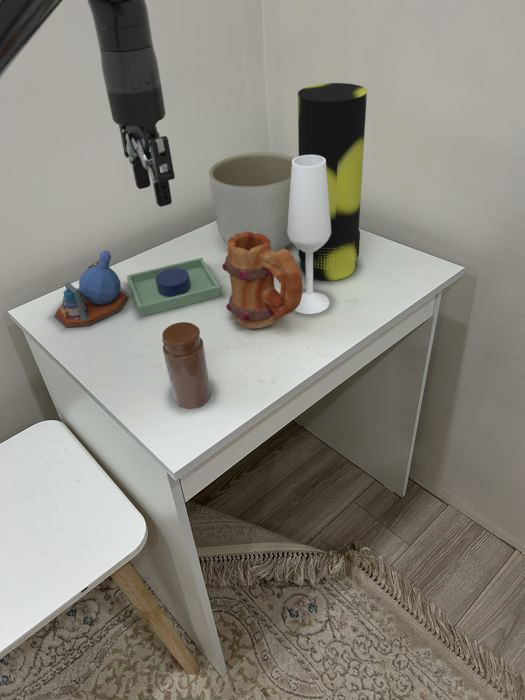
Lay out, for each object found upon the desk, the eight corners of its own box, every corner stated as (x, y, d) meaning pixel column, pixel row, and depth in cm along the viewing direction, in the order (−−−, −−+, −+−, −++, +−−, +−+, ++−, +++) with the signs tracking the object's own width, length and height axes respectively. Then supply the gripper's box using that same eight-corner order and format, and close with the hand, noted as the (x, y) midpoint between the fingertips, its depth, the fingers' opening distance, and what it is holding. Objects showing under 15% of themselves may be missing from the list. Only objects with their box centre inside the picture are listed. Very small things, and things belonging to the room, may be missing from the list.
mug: (218, 318, 90) (207, 235, 80) (255, 298, 94) (249, 216, 84) (278, 358, 81) (274, 270, 71) (317, 334, 85) (317, 248, 75)
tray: (140, 317, 91) (138, 307, 90) (128, 284, 99) (126, 275, 98) (221, 296, 95) (220, 286, 93) (203, 266, 103) (201, 257, 102)
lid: (186, 276, 99) (184, 265, 98) (194, 292, 95) (193, 280, 94) (154, 284, 98) (152, 273, 97) (161, 300, 94) (159, 289, 92)
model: (109, 284, 100) (97, 238, 94) (136, 303, 94) (124, 256, 88) (48, 311, 94) (31, 264, 88) (73, 334, 88) (56, 286, 82)
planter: (269, 216, 118) (265, 145, 108) (321, 245, 107) (321, 168, 97) (202, 242, 110) (191, 168, 101) (250, 275, 99) (243, 196, 90)
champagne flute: (281, 300, 92) (275, 160, 77) (313, 287, 95) (313, 148, 80) (305, 319, 88) (303, 173, 73) (337, 304, 91) (342, 161, 75)
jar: (182, 414, 73) (168, 350, 66) (168, 391, 77) (153, 329, 70) (217, 399, 75) (207, 336, 68) (201, 378, 78) (191, 315, 71)
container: (339, 288, 94) (345, 105, 75) (287, 271, 100) (281, 96, 81) (368, 261, 101) (381, 86, 82) (318, 247, 106) (320, 79, 87)
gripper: (179, 88, 72) (195, 204, 82) (140, 70, 81) (158, 176, 92) (125, 99, 69) (148, 218, 79) (91, 79, 79) (115, 187, 89)
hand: (153, 195), depth 85 cm, fingers open, 8 cm apart
